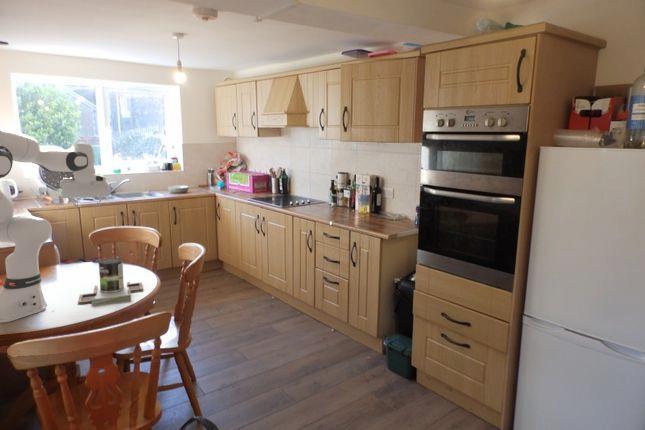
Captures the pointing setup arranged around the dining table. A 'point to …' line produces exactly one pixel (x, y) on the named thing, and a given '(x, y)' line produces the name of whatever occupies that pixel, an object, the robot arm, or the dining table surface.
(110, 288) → the coffee can
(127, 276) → the dining table surface
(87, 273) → the dining table surface
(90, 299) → the lane
